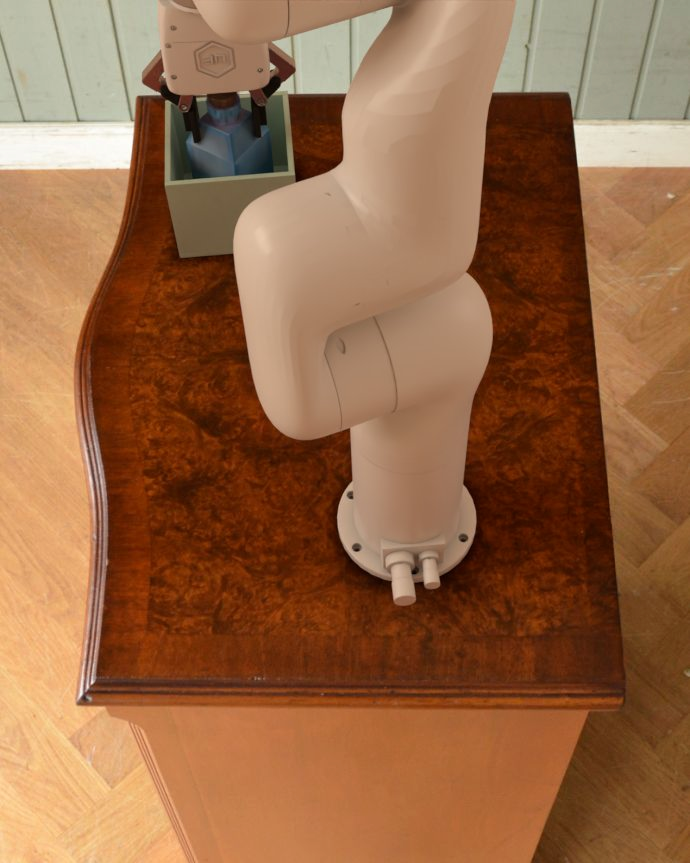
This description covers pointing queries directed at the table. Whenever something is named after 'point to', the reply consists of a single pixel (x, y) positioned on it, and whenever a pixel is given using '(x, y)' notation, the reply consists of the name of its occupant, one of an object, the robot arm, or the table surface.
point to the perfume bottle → (228, 141)
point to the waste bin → (220, 181)
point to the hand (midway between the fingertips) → (227, 130)
